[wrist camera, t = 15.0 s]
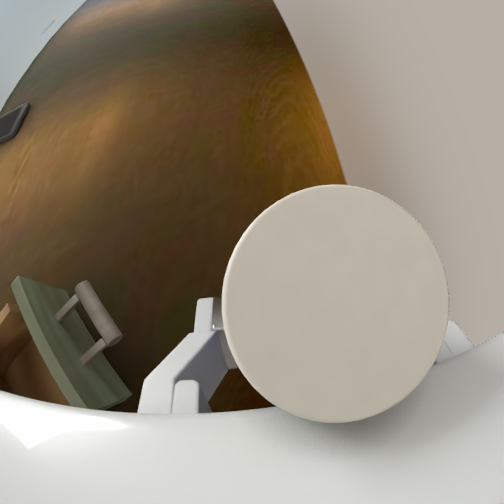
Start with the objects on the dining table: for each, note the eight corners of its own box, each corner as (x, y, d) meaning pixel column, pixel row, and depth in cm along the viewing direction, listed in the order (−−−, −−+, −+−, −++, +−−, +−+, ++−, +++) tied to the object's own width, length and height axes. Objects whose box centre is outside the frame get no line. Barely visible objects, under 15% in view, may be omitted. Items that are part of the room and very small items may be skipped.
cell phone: (15, 136, 29) (13, 133, 29) (-25, 155, 30) (-27, 153, 29) (31, 103, 31) (29, 100, 31) (-11, 125, 32) (-12, 123, 31)
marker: (316, 325, 17) (479, 296, 3) (275, 362, 16) (338, 467, 3) (279, 286, 18) (342, 145, 4) (238, 322, 17) (168, 290, 4)
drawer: (94, 261, 23) (49, 238, 16) (167, 366, 20) (132, 378, 14) (1, 367, 20) (-42, 366, 13) (52, 455, 17) (13, 473, 11)
